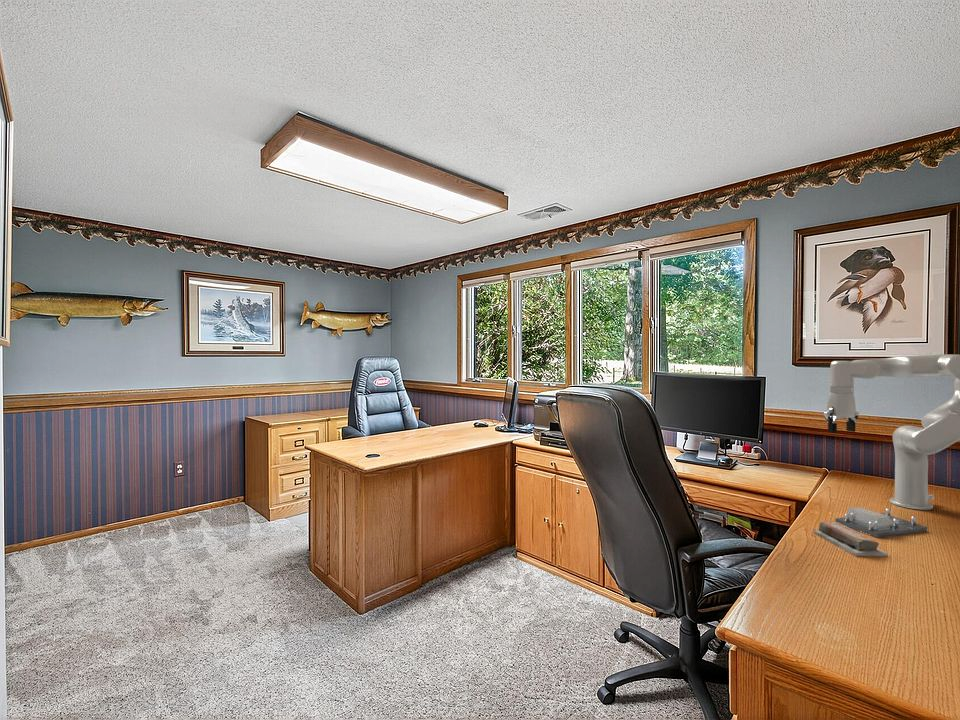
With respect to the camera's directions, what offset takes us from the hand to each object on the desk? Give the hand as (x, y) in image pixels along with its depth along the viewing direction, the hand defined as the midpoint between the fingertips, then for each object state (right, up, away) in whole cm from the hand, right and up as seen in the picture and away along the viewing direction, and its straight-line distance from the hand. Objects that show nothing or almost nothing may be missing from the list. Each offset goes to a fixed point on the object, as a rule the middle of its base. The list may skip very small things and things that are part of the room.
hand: (841, 431), depth 188 cm
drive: (-15, -27, -30) cm, 43 cm away
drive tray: (-9, -29, -29) cm, 42 cm away
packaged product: (-31, -30, -42) cm, 60 cm away
